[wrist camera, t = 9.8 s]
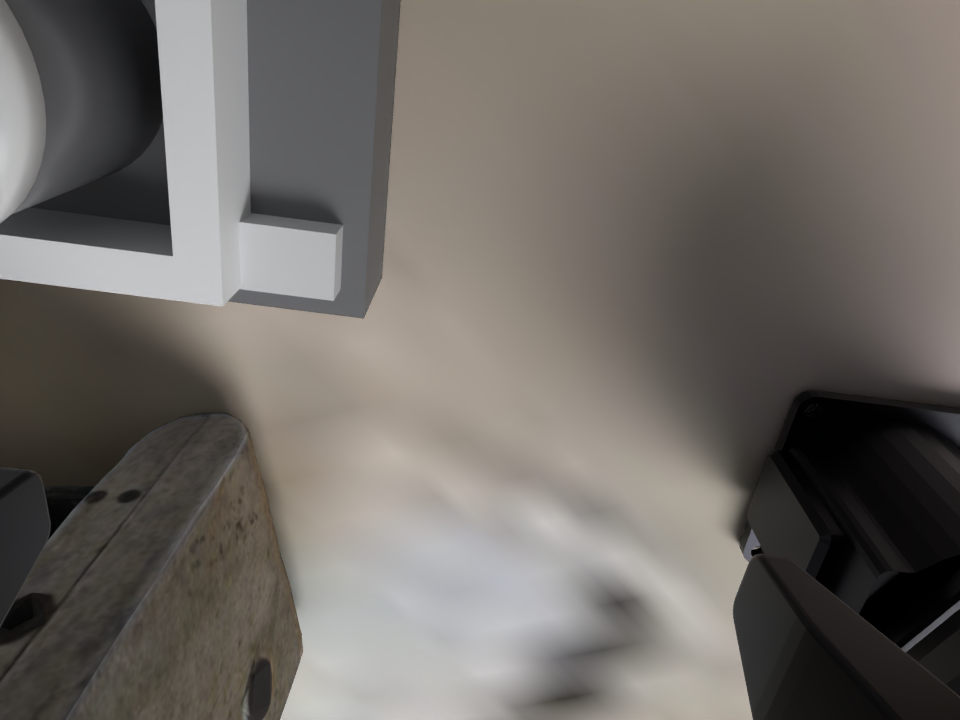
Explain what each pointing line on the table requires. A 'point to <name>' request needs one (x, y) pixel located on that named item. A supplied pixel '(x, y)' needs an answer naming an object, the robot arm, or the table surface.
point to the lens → (73, 94)
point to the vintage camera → (157, 591)
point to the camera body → (240, 166)
